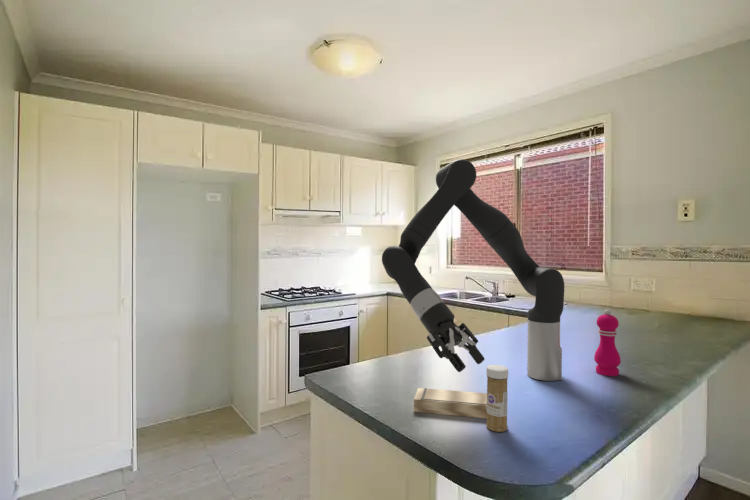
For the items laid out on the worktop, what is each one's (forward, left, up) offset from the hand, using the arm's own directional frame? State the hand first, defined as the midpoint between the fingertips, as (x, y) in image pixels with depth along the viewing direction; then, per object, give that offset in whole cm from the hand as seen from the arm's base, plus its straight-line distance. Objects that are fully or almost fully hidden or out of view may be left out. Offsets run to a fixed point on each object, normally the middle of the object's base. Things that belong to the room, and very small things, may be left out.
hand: (472, 365), depth 93 cm
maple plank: (+4, -5, -12) cm, 14 cm away
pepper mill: (-41, -44, -13) cm, 62 cm away
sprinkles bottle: (-5, +3, -13) cm, 14 cm away
